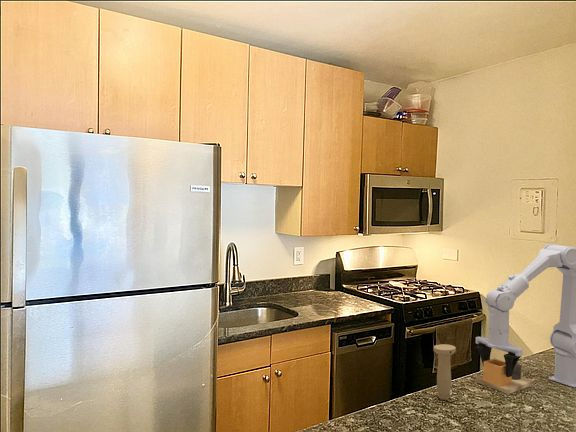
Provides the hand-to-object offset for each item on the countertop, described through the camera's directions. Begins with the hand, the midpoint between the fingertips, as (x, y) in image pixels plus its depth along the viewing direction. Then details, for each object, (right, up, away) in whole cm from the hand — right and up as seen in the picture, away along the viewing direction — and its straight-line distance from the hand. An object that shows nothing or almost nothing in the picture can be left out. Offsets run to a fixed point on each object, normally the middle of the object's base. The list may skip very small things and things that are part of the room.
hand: (497, 372), depth 140 cm
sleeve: (0, -3, 0) cm, 3 cm away
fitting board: (+3, -4, +2) cm, 6 cm away
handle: (-20, -5, -9) cm, 23 cm away
